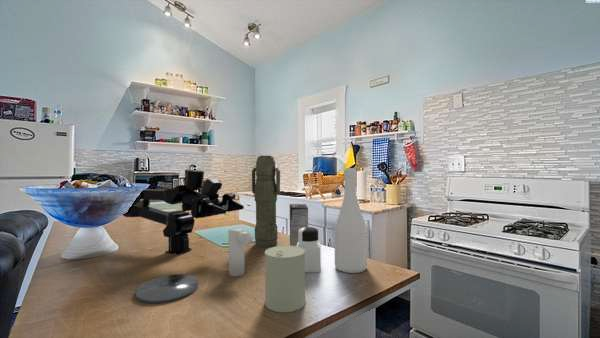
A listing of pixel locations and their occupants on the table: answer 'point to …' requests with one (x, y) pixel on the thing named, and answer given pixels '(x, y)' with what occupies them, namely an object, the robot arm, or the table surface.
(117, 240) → the table surface
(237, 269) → the duct elbow
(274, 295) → the can
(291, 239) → the coffee box
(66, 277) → the table surface
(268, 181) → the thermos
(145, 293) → the flange plate
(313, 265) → the medicine bottle
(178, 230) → the robot arm
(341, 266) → the wine bottle
